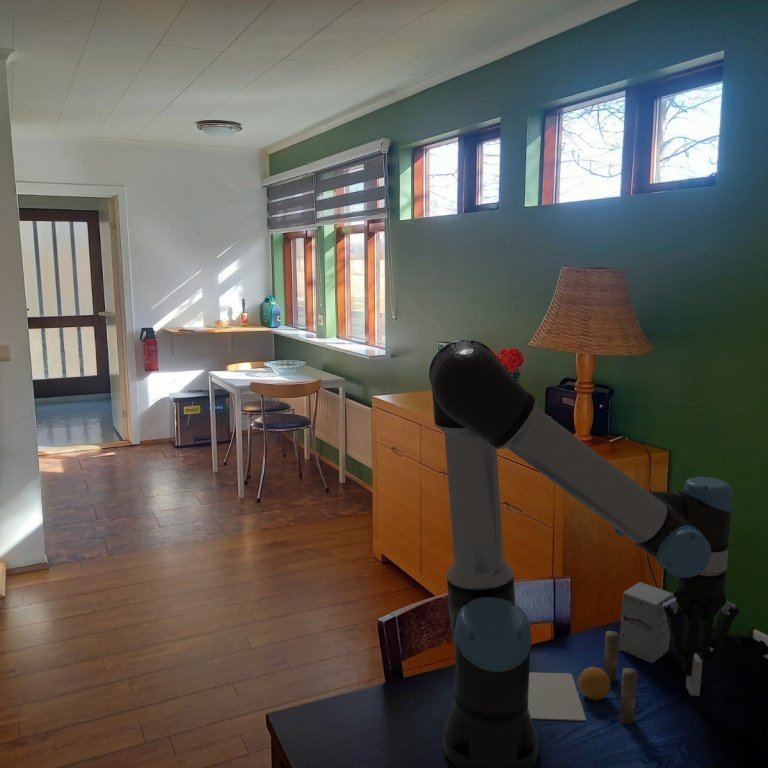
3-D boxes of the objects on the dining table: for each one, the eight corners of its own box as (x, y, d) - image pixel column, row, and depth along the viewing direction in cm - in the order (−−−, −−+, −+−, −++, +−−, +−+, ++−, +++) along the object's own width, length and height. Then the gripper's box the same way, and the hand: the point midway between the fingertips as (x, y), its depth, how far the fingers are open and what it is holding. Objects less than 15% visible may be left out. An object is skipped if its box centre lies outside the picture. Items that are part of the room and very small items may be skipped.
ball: (594, 711, 131) (575, 689, 130) (587, 693, 136) (570, 671, 136) (620, 695, 130) (601, 672, 130) (612, 677, 136) (594, 655, 135)
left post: (604, 681, 138) (607, 637, 137) (601, 674, 141) (604, 630, 139) (617, 682, 138) (620, 637, 136) (614, 674, 140) (617, 631, 139)
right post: (621, 723, 126) (624, 675, 124) (617, 715, 128) (620, 667, 127) (635, 724, 126) (638, 676, 124) (632, 715, 128) (635, 668, 127)
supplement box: (617, 650, 149) (621, 591, 147) (636, 637, 154) (640, 580, 152) (652, 665, 144) (656, 604, 141) (670, 651, 149) (674, 592, 146)
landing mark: (503, 718, 128) (503, 717, 128) (496, 672, 141) (496, 671, 141) (586, 721, 127) (586, 719, 127) (571, 674, 141) (571, 673, 140)
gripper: (732, 558, 131) (722, 680, 135) (657, 557, 132) (649, 677, 136) (750, 577, 124) (738, 705, 128) (670, 575, 124) (661, 702, 129)
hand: (692, 690), depth 132 cm, fingers closed
